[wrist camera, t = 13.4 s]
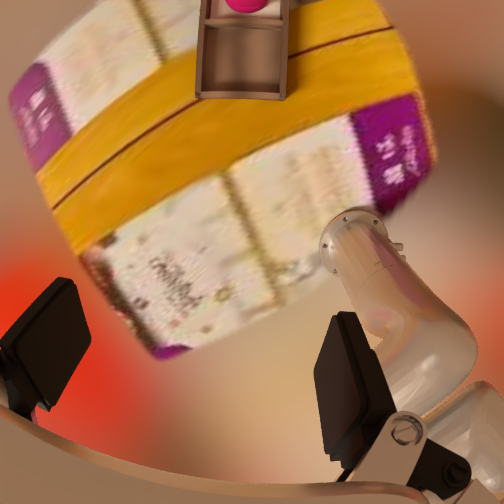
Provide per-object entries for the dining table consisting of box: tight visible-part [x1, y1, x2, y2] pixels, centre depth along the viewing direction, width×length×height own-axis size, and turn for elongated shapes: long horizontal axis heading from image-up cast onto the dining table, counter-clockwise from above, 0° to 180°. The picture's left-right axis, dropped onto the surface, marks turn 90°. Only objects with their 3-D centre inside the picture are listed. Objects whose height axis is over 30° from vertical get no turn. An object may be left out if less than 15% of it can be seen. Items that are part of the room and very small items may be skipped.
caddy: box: [195, 0, 289, 101], centre depth 30 cm, size 12×23×4 cm, turn 178°
